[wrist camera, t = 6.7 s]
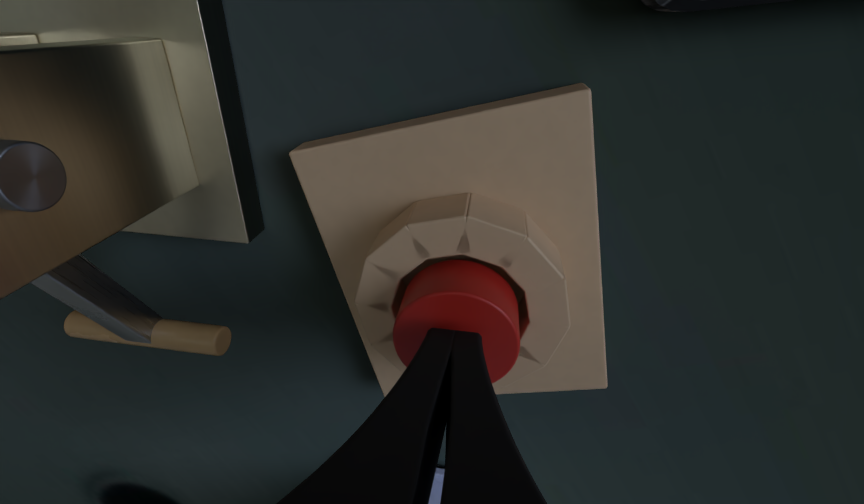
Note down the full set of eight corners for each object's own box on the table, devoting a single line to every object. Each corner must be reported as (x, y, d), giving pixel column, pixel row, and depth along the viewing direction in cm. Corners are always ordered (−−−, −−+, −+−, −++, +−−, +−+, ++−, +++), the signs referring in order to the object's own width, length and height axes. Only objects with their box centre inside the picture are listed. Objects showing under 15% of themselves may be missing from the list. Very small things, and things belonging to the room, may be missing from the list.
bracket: (264, 229, 16) (76, 403, 9) (84, 212, 17) (-221, 359, 10) (213, -47, 12) (-229, -136, 5) (-25, -52, 13) (-713, -134, 5)
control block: (601, 366, 17) (619, 430, 14) (391, 380, 19) (374, 437, 17) (583, 81, 12) (606, 100, 9) (302, 142, 14) (258, 171, 12)
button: (525, 346, 14) (528, 387, 12) (419, 355, 15) (410, 394, 13) (509, 250, 12) (510, 284, 11) (390, 266, 13) (376, 300, 11)
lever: (242, 317, 17) (216, 378, 15) (103, 301, 17) (67, 358, 16) (15, 78, 8) (-89, 170, 7) (-247, 63, 9) (-390, 143, 7)
